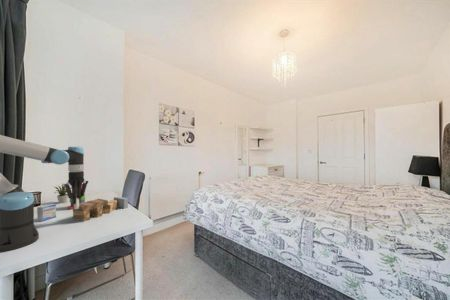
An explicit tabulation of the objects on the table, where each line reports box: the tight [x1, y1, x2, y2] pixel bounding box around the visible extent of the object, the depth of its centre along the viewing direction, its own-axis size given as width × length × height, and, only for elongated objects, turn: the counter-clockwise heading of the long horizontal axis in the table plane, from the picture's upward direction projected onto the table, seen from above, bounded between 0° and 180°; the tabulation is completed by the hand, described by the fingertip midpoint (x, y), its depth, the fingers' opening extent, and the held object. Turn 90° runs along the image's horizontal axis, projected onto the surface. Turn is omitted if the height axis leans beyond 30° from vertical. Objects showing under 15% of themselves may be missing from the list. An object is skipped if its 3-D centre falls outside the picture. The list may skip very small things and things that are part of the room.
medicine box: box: [36, 203, 57, 222], centre depth 120 cm, size 8×4×9 cm, turn 168°
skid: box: [102, 199, 119, 214], centre depth 138 cm, size 12×5×6 cm, turn 7°
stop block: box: [113, 196, 129, 209], centre depth 145 cm, size 3×12×7 cm, turn 66°
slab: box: [72, 198, 109, 212], centre depth 125 cm, size 16×10×3 cm, turn 156°
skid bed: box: [72, 206, 103, 222], centre depth 123 cm, size 11×12×6 cm
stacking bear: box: [67, 183, 86, 211], centre depth 144 cm, size 11×10×18 cm
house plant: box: [54, 182, 72, 204], centre depth 154 cm, size 14×14×16 cm
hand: (76, 208), depth 117 cm, fingers closed
